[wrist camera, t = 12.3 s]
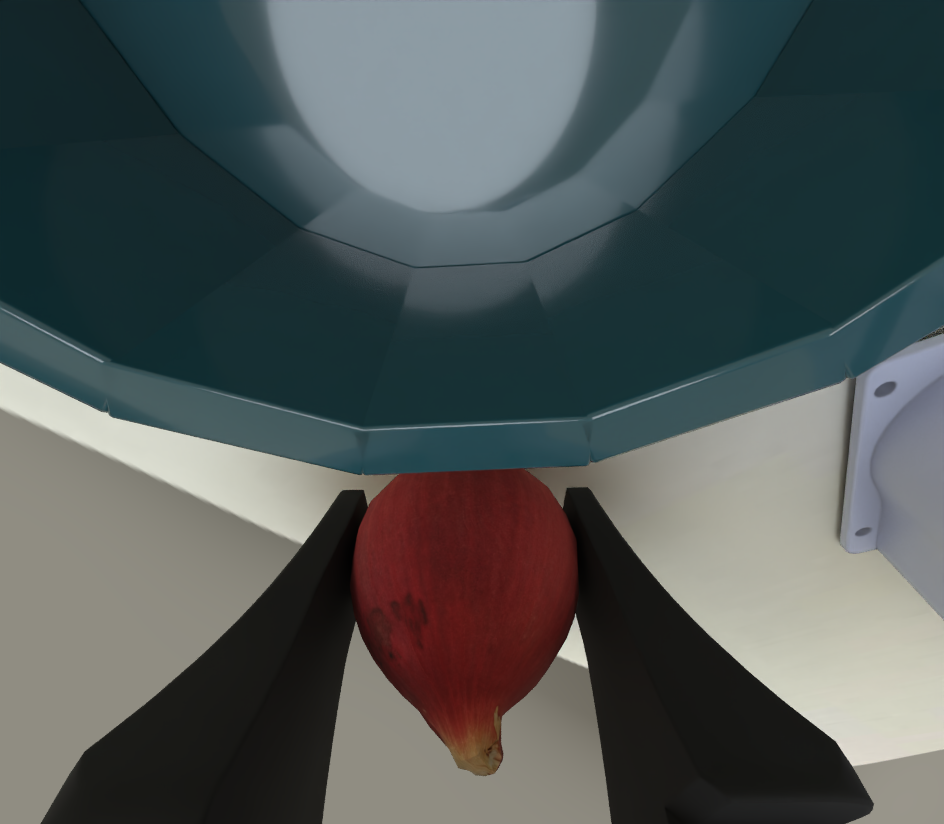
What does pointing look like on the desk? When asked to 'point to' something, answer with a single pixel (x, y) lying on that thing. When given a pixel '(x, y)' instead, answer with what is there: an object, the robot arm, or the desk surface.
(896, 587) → the desk surface
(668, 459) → the desk surface
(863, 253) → the pot
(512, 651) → the onion
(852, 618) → the desk surface
